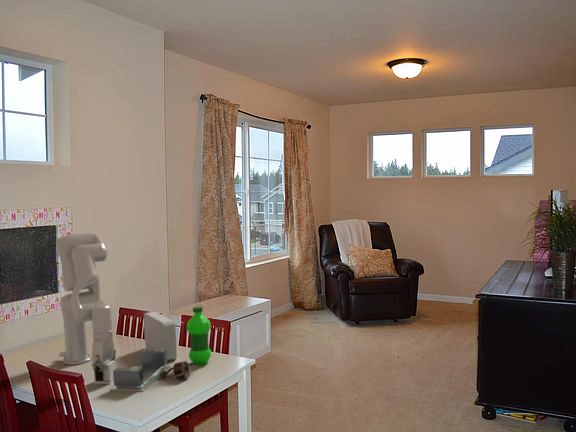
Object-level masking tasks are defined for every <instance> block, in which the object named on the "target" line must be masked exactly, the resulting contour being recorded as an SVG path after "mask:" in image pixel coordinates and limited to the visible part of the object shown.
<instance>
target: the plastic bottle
mask: <svg viewBox="0 0 576 432" xmlns="http://www.w3.org/2000/svg"><path fill="white" fill-rule="evenodd" d="M203 309H204V308H203V306H201V305H200V306H199V305H197V306H194V307H192V312H193V314H194V315H193V316H192V317H191V318H190V319H189V320H188V321H187V322H186V330H187V333H188V334H189V339H190V342H189V343H190V351H189V353H188V358H189V360H190V361H191V362H192V363H194V364H195V365H198V366H199V365H200V364H201V365H205V364H206V363H207V362H208V361H209V360H210V358H211V356H212V350H211V349H210V347H209V345H210V343H209V331H210V329H211V325H212V324H211V321H210V320H209V319H208V318H207V317H206V316H204V315H203V314H202V312H203V311H204V310H203Z"/></svg>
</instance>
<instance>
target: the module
mask: <svg viewBox="0 0 576 432" xmlns="http://www.w3.org/2000/svg"><path fill="white" fill-rule="evenodd" d="M116 361H117V360H115V361H109V362H107V363H106V364H104V365H103V367H102V371H103V381H96V380H95V371H94V370H93V376H94V377H93V379H94V384H95V385H98V384H99V385H101V384H102V385H111V384H112V382H113V383H114V377H113V370H115V369H116V368H117V363H116ZM99 363H101V362H99ZM98 367H99V368H100V365H98Z"/></svg>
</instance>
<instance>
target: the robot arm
mask: <svg viewBox="0 0 576 432" xmlns="http://www.w3.org/2000/svg"><path fill="white" fill-rule="evenodd" d="M55 245H56V251H57V254H58V257H59V258H60V263H61V276H62V286H63V289H64V290H65V291H68V292H71V293H68V294H65V295H63V296H62V297H61V299H60V300H59V301H60V302H59V304H60V305H59V306H60V309H61V313H62V319H63V330H64V331H63V332H64V345H65V350H63V351H61V350H60V351H59V354H58V357H63V359H62V363H63V364H64V365H69V366H71V365H72V366H73V365H81V364H85V363H88V362H89V361H91V366H92V369H93V372H94V371H95V380H96V381H103V371H102V367H103V365H104V364H106V363H107V362H109V361H116V360H115V358H116V352H117V350H116V349H115V346H114V345H115V344H114V340H113V336H114V335H113V324H112V323H113V322H112V321H113V320H112V308H111V306H110V305H109V304H108V303H107V301H103V300H101V286H100V284H101V283H100V275H99V273H98V269H97V266H96V263H100V262H105V261H106V260H107V257H108V250H107V247H106V245H105V243H104V242H103V240H101V238H100V237H99V236H98V235H97V234H96V233H91V232H90V233H89V232H88V233H79V234H78V233H77V234H76V233H75V234H66V235H62V236H60V237H58V238H57V239H56V242H55ZM82 290H86V291H82ZM87 322H91V325H92V338H93V339H92V346H91V354H89V351H88V350H89V349H88V334H87ZM99 362H101V363H99ZM98 365H100V368H99V367H98ZM95 380H94V381H95Z"/></svg>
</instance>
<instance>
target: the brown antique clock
mask: <svg viewBox="0 0 576 432" xmlns="http://www.w3.org/2000/svg"><path fill="white" fill-rule="evenodd" d="M172 371H173V375H168V374H169V373H171V372H172ZM191 372H192V370H191V368H190V365H189V363H188V361H187V360H183V361H180V362H176V363H174V365H173V367H172V366H171V368H170V369H169V370H168V371H167V372H166V371H162V372H161V373H160V378H159V379H160V380H165V379H168V380H169V379H174V378H175V379H178V380H179V379H183V378H184V379H185V381H186V380H188V379H189V378H190V376H191Z"/></svg>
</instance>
